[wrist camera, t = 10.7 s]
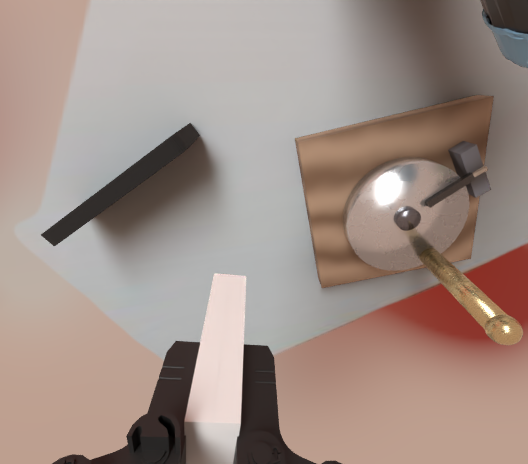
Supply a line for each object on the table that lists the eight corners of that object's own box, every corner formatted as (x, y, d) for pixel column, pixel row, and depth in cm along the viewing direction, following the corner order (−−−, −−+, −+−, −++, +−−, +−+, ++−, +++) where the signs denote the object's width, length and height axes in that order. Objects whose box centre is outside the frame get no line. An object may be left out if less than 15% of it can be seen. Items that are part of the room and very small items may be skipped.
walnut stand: (294, 138, 39) (301, 147, 34) (476, 95, 37) (512, 97, 32) (318, 277, 50) (325, 300, 45) (458, 248, 48) (483, 268, 43)
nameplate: (92, 214, 43) (50, 249, 34) (81, 204, 42) (36, 237, 33) (201, 134, 38) (186, 150, 29) (191, 121, 38) (173, 134, 29)
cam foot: (321, 205, 40) (368, 289, 24) (435, 125, 36) (587, 162, 19) (376, 278, 47) (442, 383, 30) (478, 218, 42) (620, 304, 26)
